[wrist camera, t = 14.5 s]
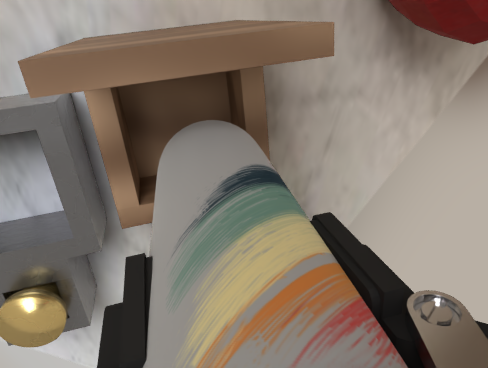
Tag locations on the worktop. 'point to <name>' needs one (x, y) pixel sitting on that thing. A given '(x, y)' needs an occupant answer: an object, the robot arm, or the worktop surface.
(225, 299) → the lotion bottle
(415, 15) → the apple
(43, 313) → the pin
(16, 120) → the socket
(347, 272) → the robot arm
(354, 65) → the worktop surface
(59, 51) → the rack
